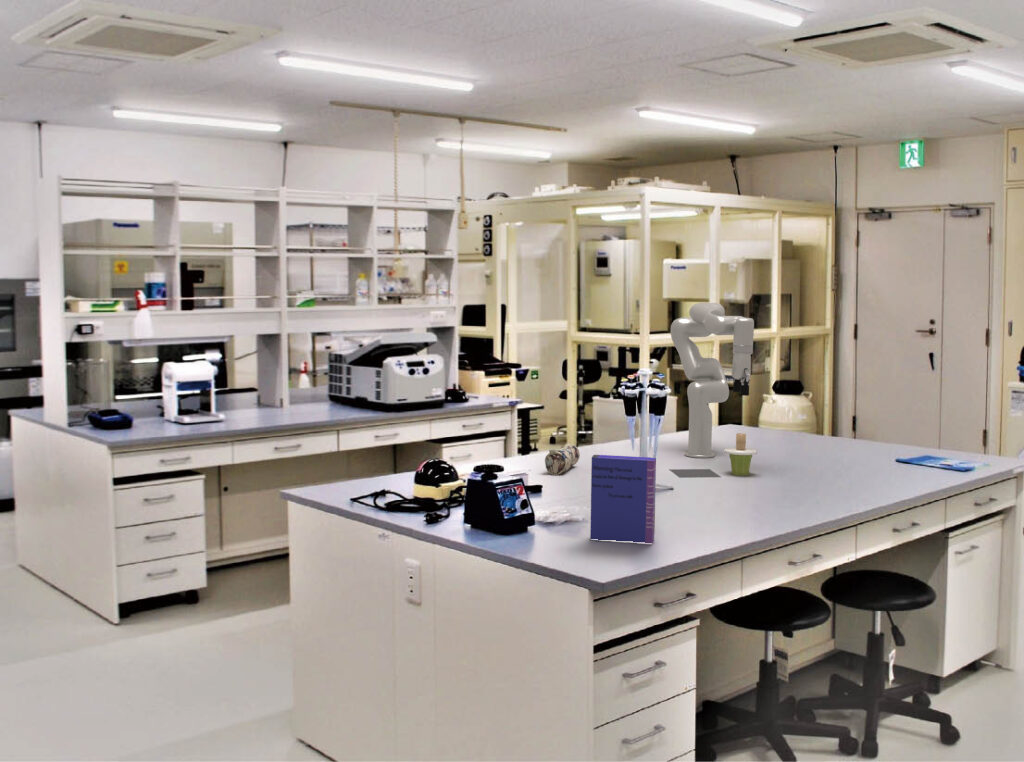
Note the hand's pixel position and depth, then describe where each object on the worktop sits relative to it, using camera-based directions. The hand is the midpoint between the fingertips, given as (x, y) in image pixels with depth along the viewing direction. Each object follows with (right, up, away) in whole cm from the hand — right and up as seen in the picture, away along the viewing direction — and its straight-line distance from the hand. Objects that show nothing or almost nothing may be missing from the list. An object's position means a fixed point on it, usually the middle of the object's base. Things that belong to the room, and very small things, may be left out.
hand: (740, 393), depth 398 cm
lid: (-3, -22, -11) cm, 25 cm away
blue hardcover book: (-58, -40, -109) cm, 130 cm away
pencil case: (-70, -30, -4) cm, 76 cm away
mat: (-20, -30, -10) cm, 38 cm away
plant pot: (-3, -31, -10) cm, 33 cm away
